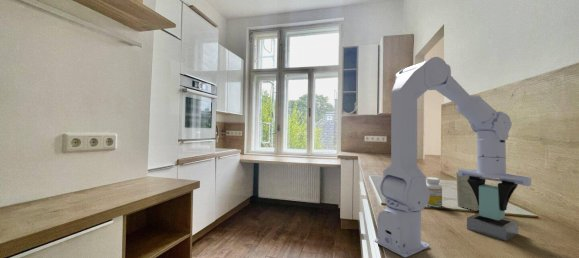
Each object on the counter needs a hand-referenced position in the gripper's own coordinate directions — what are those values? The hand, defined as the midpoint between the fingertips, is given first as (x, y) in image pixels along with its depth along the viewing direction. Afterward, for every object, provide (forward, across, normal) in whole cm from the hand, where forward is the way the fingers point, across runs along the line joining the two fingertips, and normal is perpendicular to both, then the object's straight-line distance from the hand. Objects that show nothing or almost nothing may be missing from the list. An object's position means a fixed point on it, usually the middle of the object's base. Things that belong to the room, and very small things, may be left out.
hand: (491, 207), depth 59 cm
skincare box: (+7, +12, -17) cm, 22 cm away
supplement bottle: (+7, +20, -9) cm, 22 cm away
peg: (+2, 0, 0) cm, 2 cm away
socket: (+6, 0, 0) cm, 6 cm away
